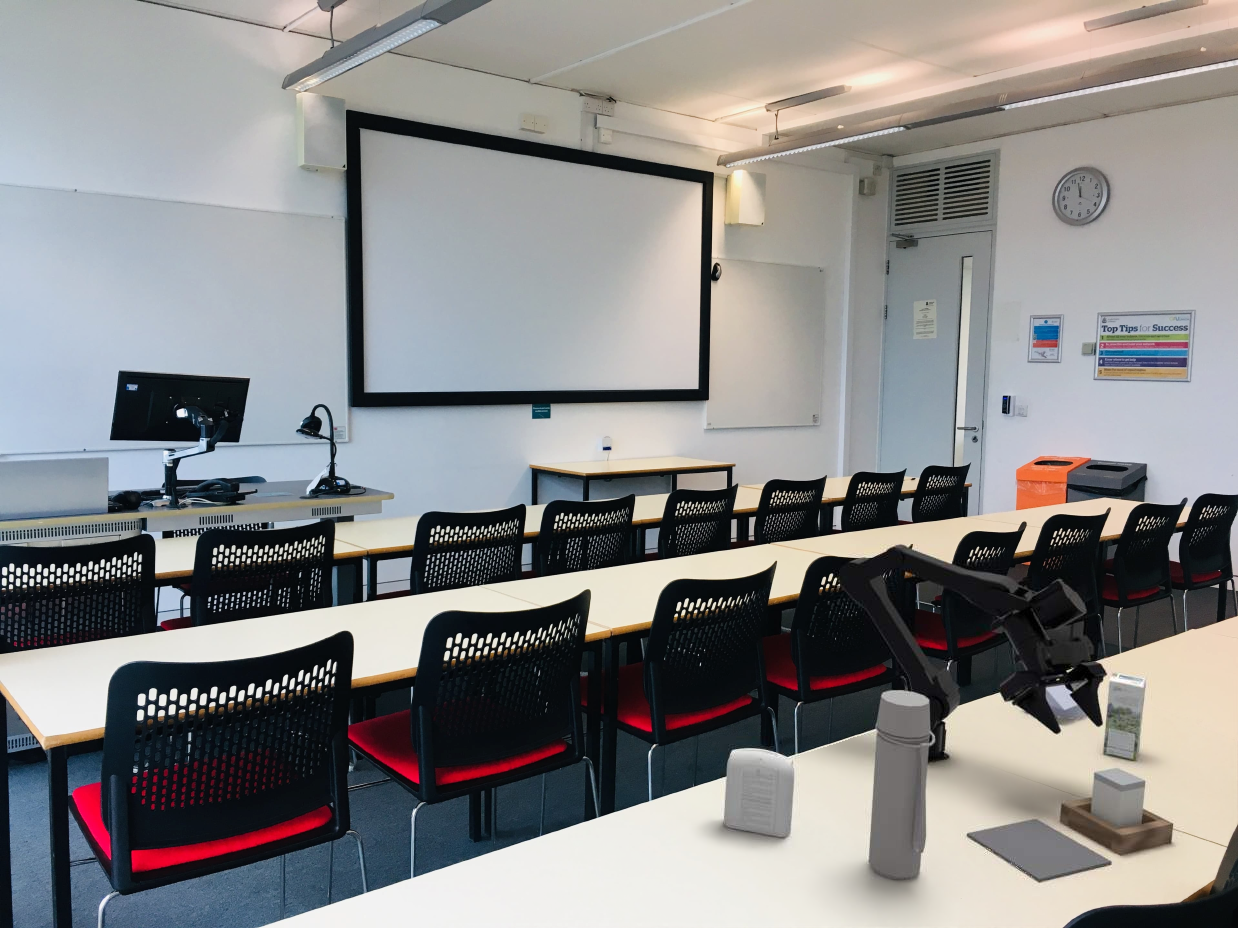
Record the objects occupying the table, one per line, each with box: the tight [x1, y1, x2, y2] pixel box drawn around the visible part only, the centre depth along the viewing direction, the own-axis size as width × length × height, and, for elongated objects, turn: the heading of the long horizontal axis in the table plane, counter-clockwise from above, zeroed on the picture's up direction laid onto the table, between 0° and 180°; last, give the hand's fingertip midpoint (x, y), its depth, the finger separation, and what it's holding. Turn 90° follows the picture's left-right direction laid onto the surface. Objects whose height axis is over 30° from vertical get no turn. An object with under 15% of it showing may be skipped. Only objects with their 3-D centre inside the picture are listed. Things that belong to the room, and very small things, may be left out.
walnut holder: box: [1059, 796, 1174, 855], centre depth 152 cm, size 11×11×3 cm
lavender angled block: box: [1046, 685, 1087, 719], centre depth 204 cm, size 9×7×13 cm
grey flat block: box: [723, 747, 795, 838], centre depth 149 cm, size 10×4×12 cm, turn 72°
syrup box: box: [1102, 672, 1147, 762], centre depth 183 cm, size 6×6×14 cm
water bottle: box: [868, 689, 935, 880], centre depth 137 cm, size 9×8×25 cm
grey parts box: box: [1091, 767, 1146, 829], centre depth 152 cm, size 5×5×9 cm
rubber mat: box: [966, 818, 1112, 882], centre depth 146 cm, size 14×14×1 cm
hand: (1079, 729), depth 158 cm, fingers open, 9 cm apart
